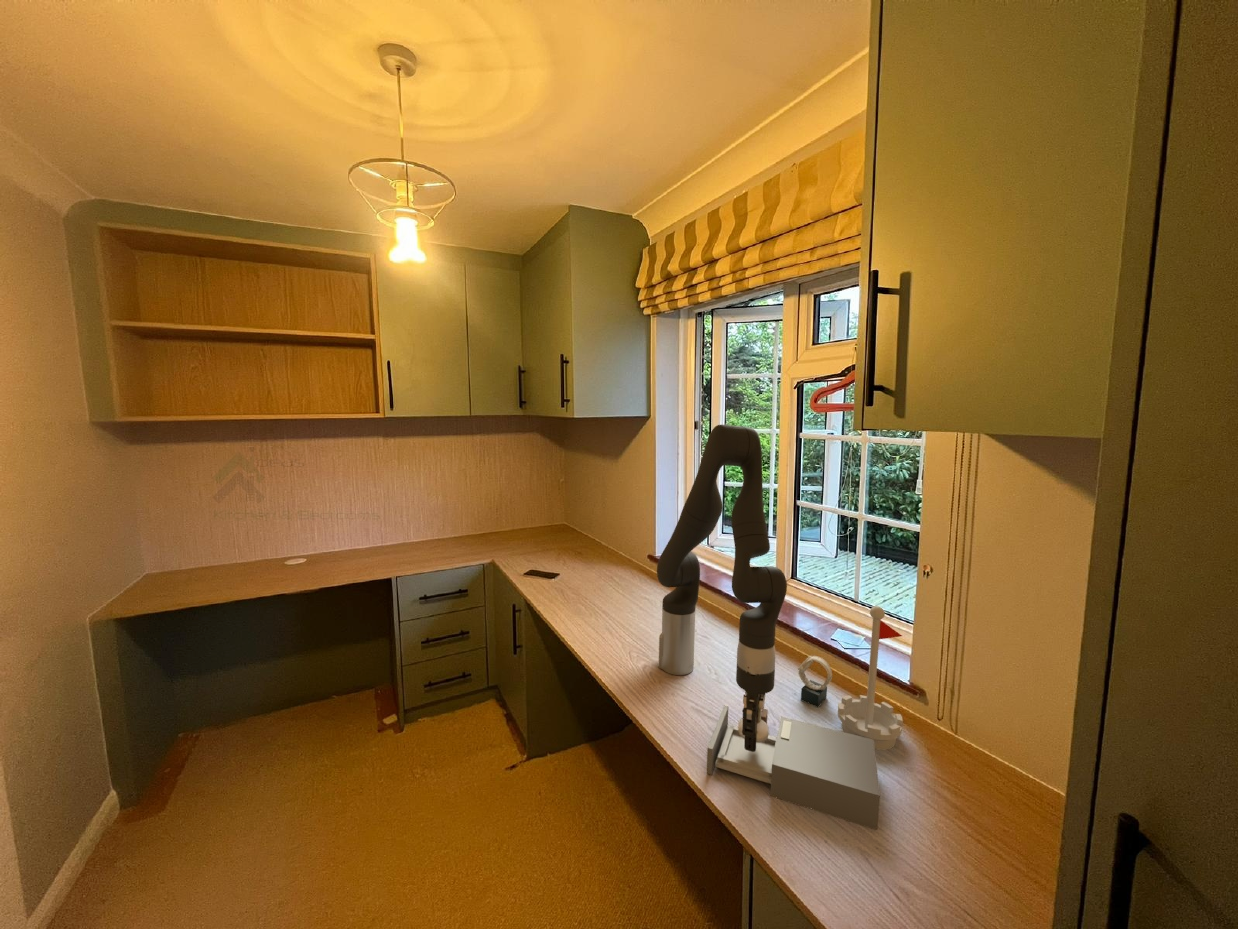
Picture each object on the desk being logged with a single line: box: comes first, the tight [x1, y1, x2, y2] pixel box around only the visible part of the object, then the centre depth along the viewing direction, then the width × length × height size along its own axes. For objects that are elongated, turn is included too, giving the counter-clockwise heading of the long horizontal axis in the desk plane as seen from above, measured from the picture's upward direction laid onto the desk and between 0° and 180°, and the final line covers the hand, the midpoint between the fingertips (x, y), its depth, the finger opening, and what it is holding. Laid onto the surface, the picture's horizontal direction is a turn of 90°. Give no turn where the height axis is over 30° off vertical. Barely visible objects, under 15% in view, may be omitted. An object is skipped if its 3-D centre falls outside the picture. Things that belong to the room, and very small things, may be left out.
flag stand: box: [837, 605, 904, 751], centre depth 110 cm, size 13×13×30 cm
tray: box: [706, 705, 777, 785], centre depth 101 cm, size 18×16×6 cm
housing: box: [769, 715, 881, 830], centre depth 96 cm, size 18×16×7 cm
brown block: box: [761, 708, 769, 724], centre depth 113 cm, size 3×3×4 cm
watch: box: [797, 655, 833, 708], centre depth 124 cm, size 6×8×11 cm
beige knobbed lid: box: [737, 717, 770, 742], centre depth 101 cm, size 6×6×2 cm
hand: (752, 740), depth 101 cm, fingers closed on beige knobbed lid, 6 cm apart
